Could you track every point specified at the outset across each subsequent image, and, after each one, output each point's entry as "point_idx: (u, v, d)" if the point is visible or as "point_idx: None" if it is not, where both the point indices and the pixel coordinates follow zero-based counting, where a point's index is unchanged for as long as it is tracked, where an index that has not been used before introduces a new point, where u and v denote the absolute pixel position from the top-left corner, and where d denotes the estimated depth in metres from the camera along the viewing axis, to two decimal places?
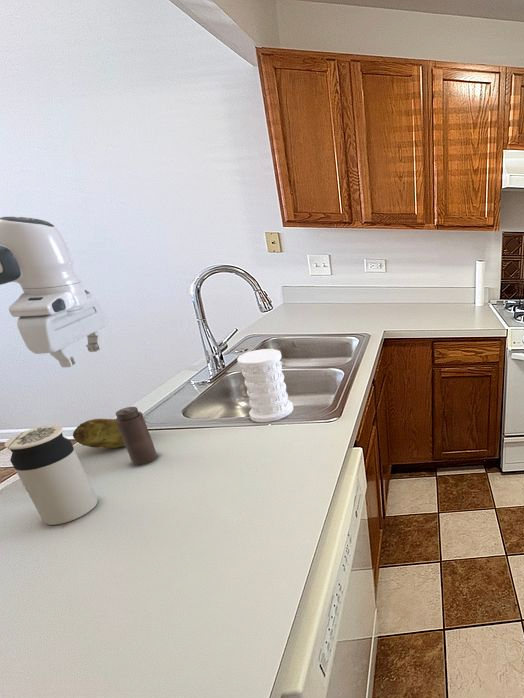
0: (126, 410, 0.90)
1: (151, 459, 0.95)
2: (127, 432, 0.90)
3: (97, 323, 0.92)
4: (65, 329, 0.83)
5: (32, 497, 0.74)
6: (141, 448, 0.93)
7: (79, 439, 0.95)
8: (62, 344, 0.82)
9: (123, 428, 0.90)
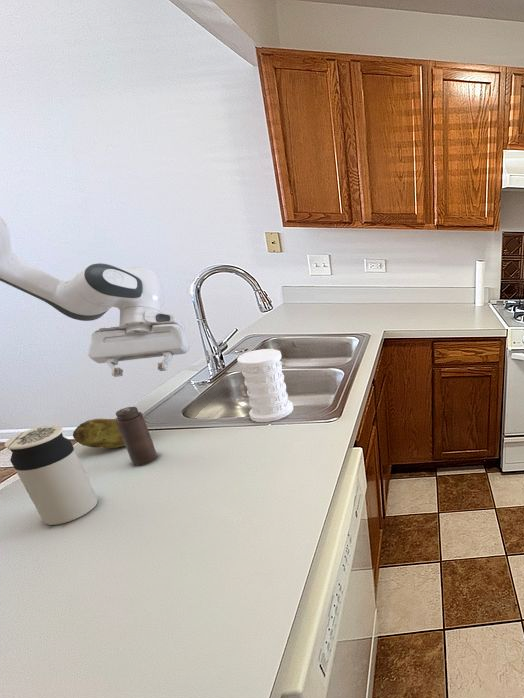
0: (126, 410, 0.90)
1: (151, 459, 0.95)
2: (127, 432, 0.90)
3: None
4: None
5: (32, 497, 0.74)
6: (141, 448, 0.93)
7: (79, 439, 0.95)
8: None
9: (123, 428, 0.90)
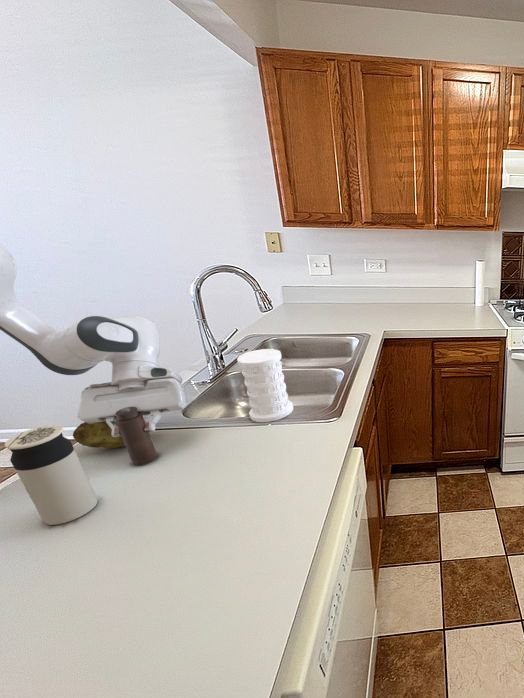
0: (126, 410, 0.90)
1: (151, 459, 0.95)
2: (127, 432, 0.90)
3: None
4: None
5: (32, 497, 0.74)
6: (141, 448, 0.93)
7: (79, 439, 0.95)
8: None
9: (123, 428, 0.90)
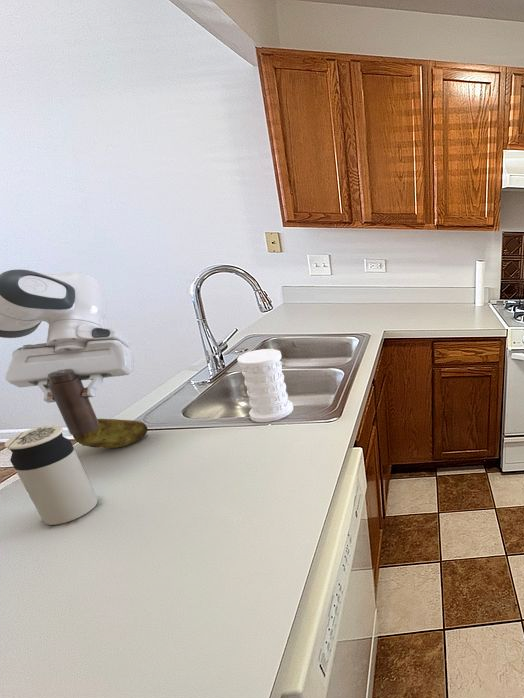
0: (60, 372, 0.81)
1: (91, 428, 0.86)
2: (61, 396, 0.81)
3: None
4: None
5: (32, 497, 0.74)
6: (78, 415, 0.84)
7: (79, 439, 0.95)
8: None
9: (56, 391, 0.81)
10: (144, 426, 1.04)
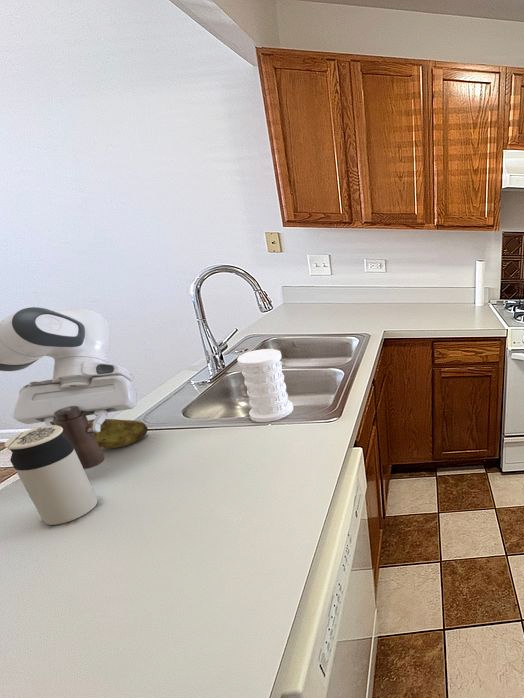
0: (66, 410, 0.83)
1: (96, 462, 0.88)
2: (67, 433, 0.83)
3: None
4: None
5: (32, 497, 0.74)
6: (84, 450, 0.86)
7: None
8: None
9: None
10: (144, 426, 1.04)
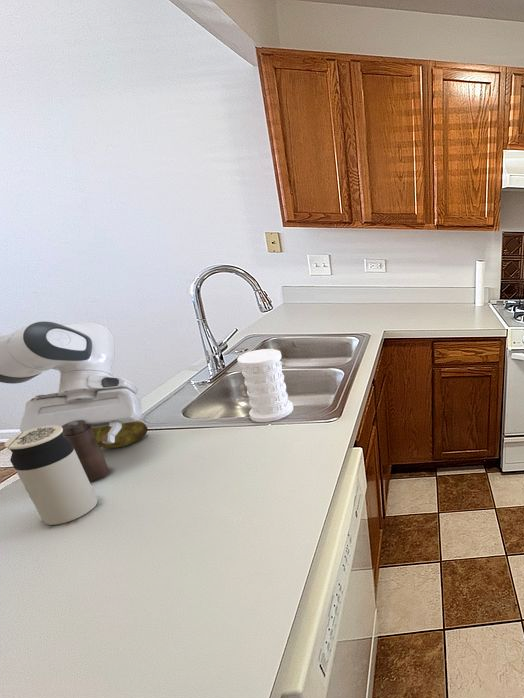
0: (72, 424, 0.85)
1: (102, 475, 0.89)
2: None
3: None
4: None
5: (32, 497, 0.74)
6: (90, 464, 0.87)
7: None
8: None
9: None
10: (144, 426, 1.04)
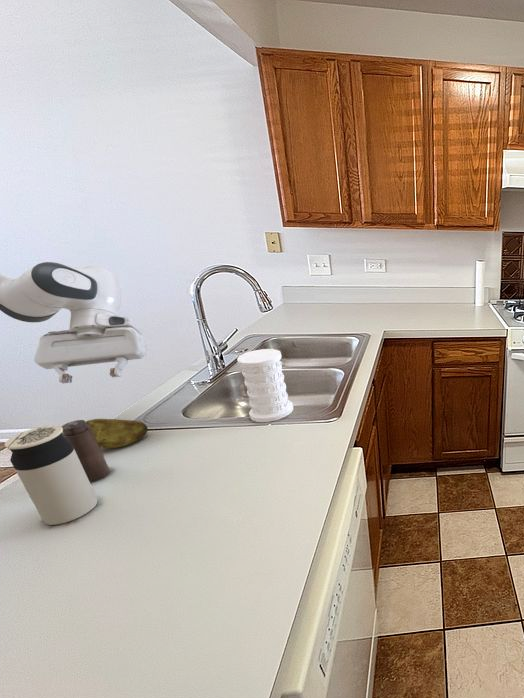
0: (72, 424, 0.85)
1: (102, 475, 0.89)
2: (74, 447, 0.85)
3: None
4: None
5: (32, 497, 0.74)
6: (90, 464, 0.87)
7: None
8: None
9: None
10: (144, 426, 1.04)
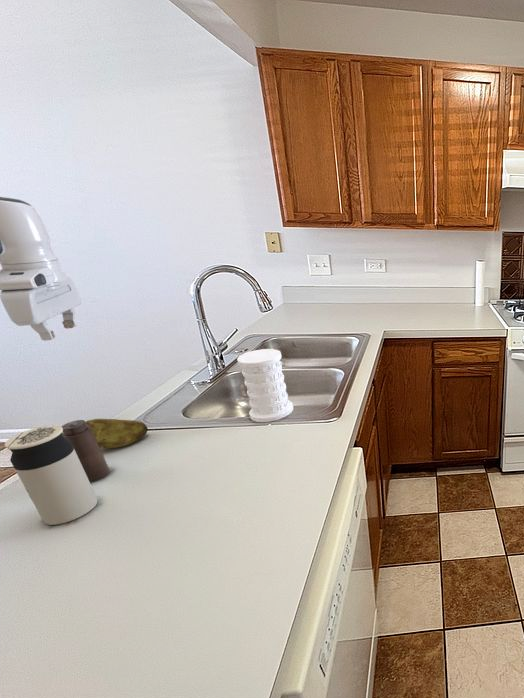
0: (72, 424, 0.85)
1: (102, 475, 0.89)
2: (74, 447, 0.85)
3: (72, 300, 0.97)
4: (46, 303, 0.87)
5: (32, 497, 0.74)
6: (90, 464, 0.87)
7: None
8: (44, 317, 0.86)
9: None
10: (144, 426, 1.04)
